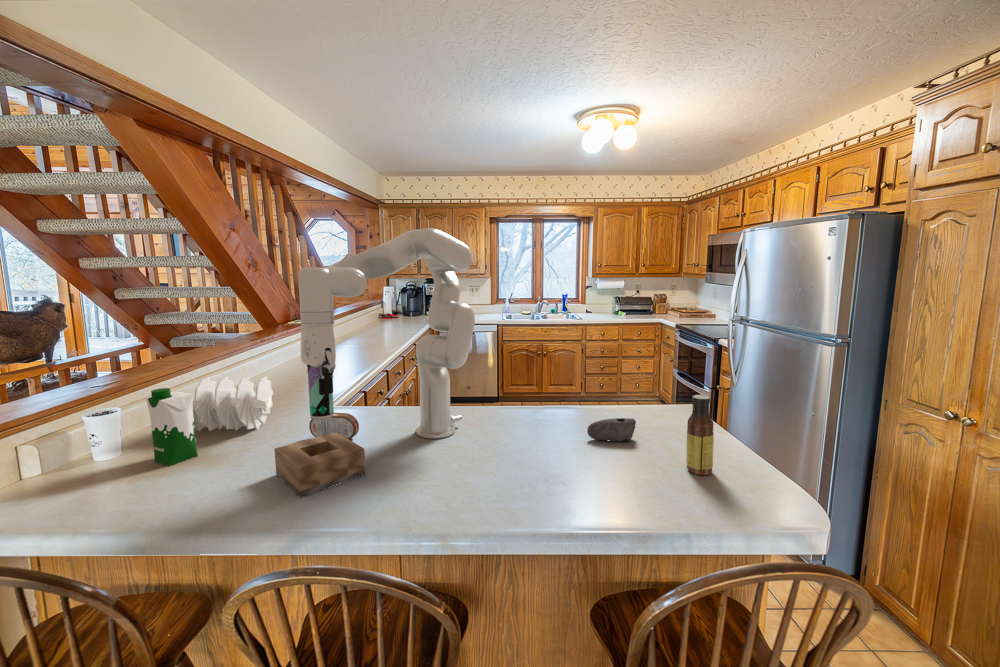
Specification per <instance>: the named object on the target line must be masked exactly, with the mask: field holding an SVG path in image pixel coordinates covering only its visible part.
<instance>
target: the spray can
mask: <svg viewBox="0 0 1000 667" xmlns="http://www.w3.org/2000/svg"><path fill="white" fill-rule="evenodd" d="M307 355H308V351H307ZM308 357H309V356H308ZM322 365H327V363H323V364H322ZM325 369H327V368H323V372H324V370H325ZM307 370H308V372H307V380H308V397H309V398H308V402H309V403H308V404H309V418H310V419H317V420H319V419H327V418H330V417H332V416H333V415H334V413H335V409H334V392H333V393H330V394H325V395H320V394H319V379H320V373H319V368H318V367H313V366H310V365H308V367H307Z"/></svg>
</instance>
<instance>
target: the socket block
mask: <svg viewBox="0 0 1000 667" xmlns="http://www.w3.org/2000/svg"><path fill="white" fill-rule="evenodd" d="M273 450H274V460H275V461H274V462H275V475H276V474H277V475H278V476H279V477H280V478H281V479H282V480H283V481H284V482H285V483H284V482H283V481H282V480H281V479H280V478H279V477H278V476H277V475H276V476H277V477H278V478H279V479H280V480H281V481H282V482H283V483H284V484H286V486H288V487H289V488H290V489H291V490H292V491H293V492H294V493H295V494H296V493H297V494H298V495H299V496H298V495H297V494H296V495H297V496H298V497H300V498H304V497H306V496H309V495H312V494H315V493H317V491H318V492H320V490H321V491H323V490H322V489H324V488H326V489H329V488H331V487H330V486H332V487H334V486H333V485H335V486H337V485H336V484H338V485H340V484H339V483H341V484H343V483H342V482H344V483H346V482H345V481H347V482H349V481H351V479H352V480H354V478H355V479H357V478H356V477H358V478H360V477H359V476H361V477H363V476H362V475H364V476H365V475H366V459H365V458H366V456H365V455H366V454H365V448H364V447H362V446H361V445H360V444H357V443H355V441H352V440H351V439H350V440H349V439H347V438H345V437H343V436H342V435H340V434H338V433H332V434H328V435H324V436H321V437H317V438H315V437H314V438H310V439H306V440H302V441H301V440H300V441H298V442H294V443H291V444H287V445H283V446H278V447H275V448H274V449H273ZM348 480H349V481H348ZM328 487H329V488H328ZM324 490H325V489H324ZM308 494H309V495H308ZM303 496H304V497H303Z"/></svg>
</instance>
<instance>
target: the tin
mask: <svg viewBox="0 0 1000 667" xmlns="http://www.w3.org/2000/svg"><path fill="white" fill-rule="evenodd" d="M310 419H311V418H310ZM308 428H309V432H310V433H311V435H312V436H313V437H314V438H317V437H321V436H324V435H328V434H332V433H338V434H340V435H342V436H343V437H345V438H347V439H349V440H350V441H351V439H353V438H354V437H356V436H357V434H358V433H359V430H360V425H359V421H358V420H357V418H356V417H355V416H354V415H352V414H350V413H347V412H334V415H333V416H332V417H330V418H327V419H319V420H317V419H311V420H310V421H309V427H308Z"/></svg>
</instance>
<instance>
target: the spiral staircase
mask: <svg viewBox="0 0 1000 667" xmlns="http://www.w3.org/2000/svg"><path fill="white" fill-rule="evenodd" d="M239 380H240V381H239V382H238V384H237V386H236V387H235V385H234V380H233V379H230V378H229V376H228V375H227V376H224V377H223V378H222V379H220V378H219V380H218V382H216V381H215V380H214V381H213V380H211V377H210V376H207V377H205V378H204V379H203V378H200V380H199V382H198V384H197V386H196V388H195V391H194V397H193V417H194V428H195V430H197V431H198V432H201V430H202V429H203V428H204V427H206V428H208V431H213V430H215V429H218V430H219V431H221V430H222V428H223V427H225V429H226V430H235V432H238V431H239V430H240V429H241V427H242V426H243V427H246V430H250V429H255V430H256V429H258V430H259V429H260V427H261V426H262V425H265V424H266V420H267V417H268V414H271V408H272V407H273V406H274V404H273V398H272V397H273V395H274V391H273V389H272V380H269V379H268V376H267V375H265V376H264V377H259V379H258V382H257V385H256V388H255V390H254V386H255V383H254V382H252V381H251V379H250V377H249V376H248V377H246V378H244V377H242V378H240V379H239ZM216 383H217V384H216ZM220 429H221V430H220ZM238 429H239V430H238ZM237 430H238V431H237Z"/></svg>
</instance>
